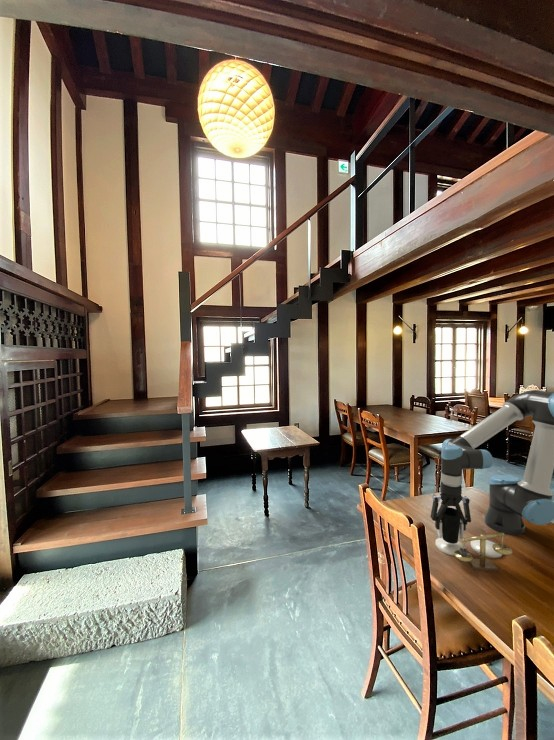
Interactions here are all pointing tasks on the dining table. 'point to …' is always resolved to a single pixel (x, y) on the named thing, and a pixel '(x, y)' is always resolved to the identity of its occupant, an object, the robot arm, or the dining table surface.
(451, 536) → the cup
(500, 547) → the balance
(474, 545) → the white round plate
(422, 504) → the dining table surface
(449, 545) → the low side dish
